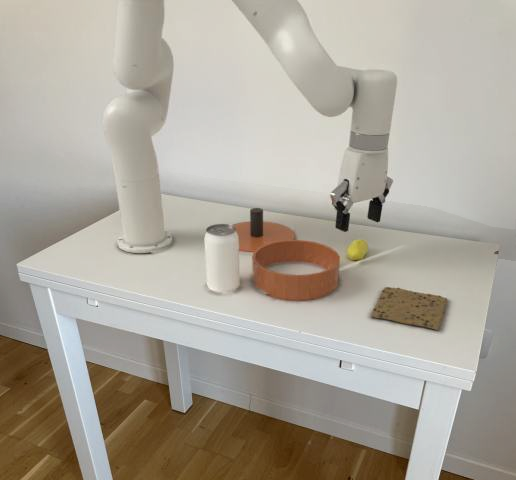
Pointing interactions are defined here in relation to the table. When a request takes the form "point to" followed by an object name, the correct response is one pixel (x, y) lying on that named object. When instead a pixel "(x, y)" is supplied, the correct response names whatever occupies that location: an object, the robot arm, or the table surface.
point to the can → (222, 257)
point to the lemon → (357, 249)
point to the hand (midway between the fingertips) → (357, 225)
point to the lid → (260, 232)
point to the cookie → (410, 307)
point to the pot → (295, 284)
